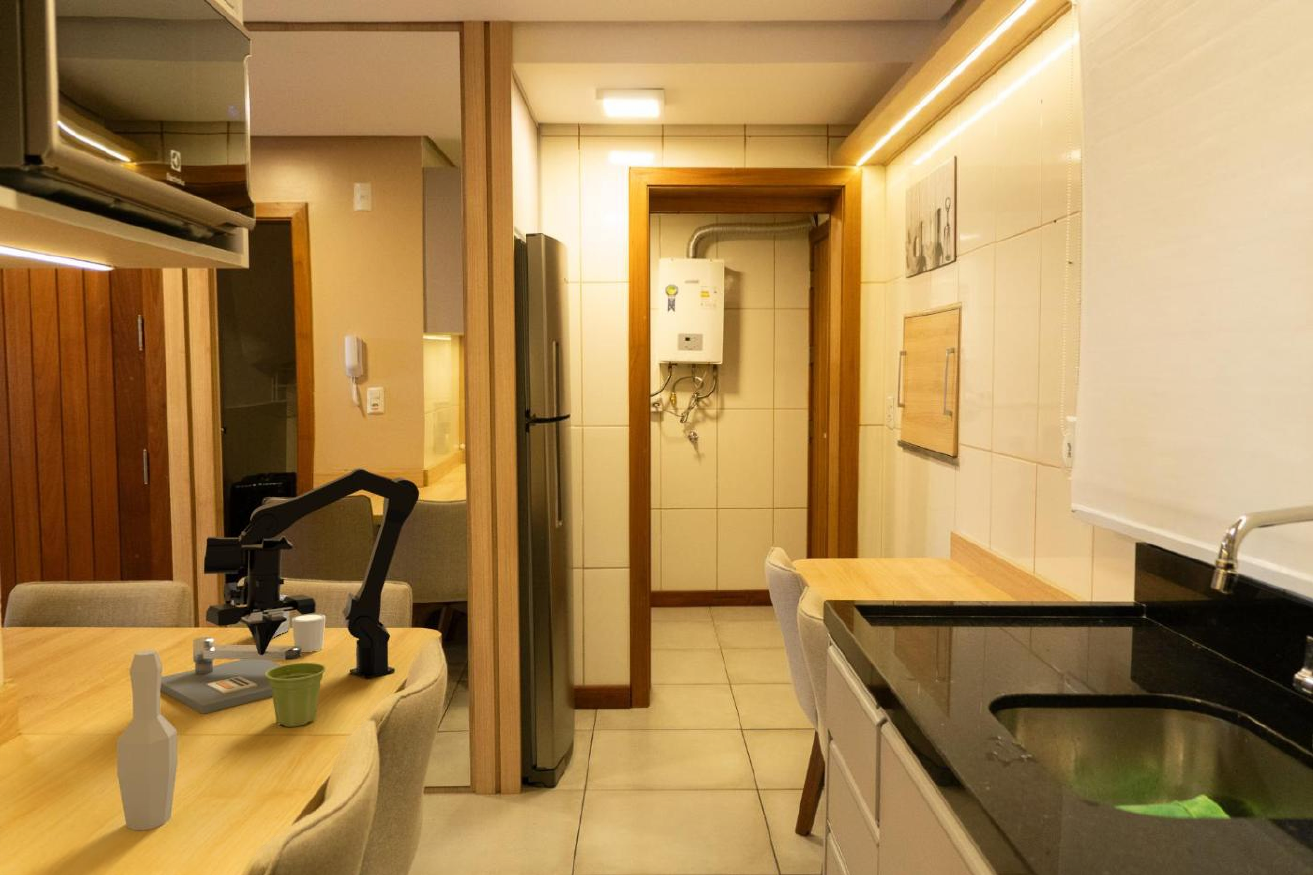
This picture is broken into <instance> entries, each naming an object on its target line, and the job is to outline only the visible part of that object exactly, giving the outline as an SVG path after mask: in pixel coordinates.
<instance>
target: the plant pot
mask: <svg viewBox="0 0 1313 875" xmlns="http://www.w3.org/2000/svg"><path fill="white" fill-rule="evenodd" d="M326 669H327V668H326V666H325V665H323V664H321V663H316V662H297V663H296V662H295V663H288V664H283V665H282V666H278V667H275V668H272V669H270V670H268V671H267V672H266V673H265V676H266V678H268V682H269V685H270V686H271V691H272V703H273V709H274V714H275V719H276V721H275V722H276V724H277V725H278V726H281V725H283V726H284V727H287V728H292V727H302V726H304V725H306V724H308V723H309V722H314V721H315V720H316V717H317V712H318V711H317V709H318V700H319V694H320V686H321V681H322V679H323V676H324V673H325V672H326Z"/></svg>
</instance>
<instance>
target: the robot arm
mask: <svg viewBox="0 0 1313 875" xmlns="http://www.w3.org/2000/svg"><path fill="white" fill-rule="evenodd" d="M359 491H364V492H368V493H371V494H373V495H376V496H379V497H382V498H383V504H382V518H381V519H382V520H381V524H380V525H379V526H380V527H379V530H378V533H377V536H376V539H375V542H374V546H373V548H372V552H371V554H370V558H369V561H368V564H367V568H366V571H365V573H364V577H363V581H362V582H361V583H362V584H361V586H360V587H359V590H357V593H356V594H352V593H348V596H347V602H346V606H345V608H344V609H343V611H342V614H343V617H344V622H345V626H346V628H347V630H348V633H349V634H350V635H351V636H352V637H353V638H356V639H357V640H356V647H355V650H356V651H355V653H356V654H355V658H356V659H355V660H356V667H355V668H352V669H349V673H350V674H353V675H356V676H358V677H361V678H364V679H370V678H371V679H372V678H374V677H375V678H376V677H378V676H382V675H386V674H389V673H394V672H395V670H396V668H394V667H392V666H389V641H390V638H391V635H390V633H389V631H388V630H387V627H386V626H385V625H384V623H383V622H381V621H380V616H381V615H380V614H381V602H382V601H381V600H382V592H383V588H384V585H385V582H386V581H387V580H386V579H387V576H388V573H389V570H390V566H391V564H392V560H393V557H394V554H395V550H396V547H397V545H398V541H399V538H400V535H401V531H402V528H403V526H404V524H405V523H406V522H407V520H408V518H409V517H410V515H411V514H412V513H413V510H414V508H415V507H416V505H417V502H418V501H419V496H420V491H419V488H418V486H417V485H416V483H415V482H413V481H411V480H409V479H408V478H405V477H400V476H399V477H395V478H389V477H386V476H383V475H379V474H376V473H374V472H371V471H368V470H366V469H364V468H361V467H359V468H353V470H351V471H350V472H349V473H347V474H344V475H342V476H340V477H337V478H336V479H333V480H331V481H329V482H327V483H325V484H322V485H320V486H318V487H316V488H313V489H311V490H308V491H306V492H304V493H302V494H300V495H298V496H296V497H293V498H288V499H283V500H278V501H275V502H271V503H267V504H264V505H260V506H258V507H257V508H255V509H254V510H253V512H252V513H251V515H250V522H249V525H247V527H245V529H244V530H243V531H241V534H240V535H239V536H238V537H218V536H208V537H207V538H206V548H205V554H204V559H203V574H204V575H217V574H218V575H219V574H220V575H221V574H222V575H223V574H225V575H227V574H238V573H239V572H238V571H239V570H241V569H243V568H245V560H246V559H245V557H246V551H248V565H247V566H248V568H247V576H244V579H243V584H242V585H238V583H237V582H228V583H225V584H223V593H222V595H223V601H225V602H228V601H229V602H230V601H233V604H231V603H222V604H214V605H213V604H212V605H209V607H208V608H207V610H206V611H205V613H206V614H205V621H206V622H208V623H210V624H213V625H216V626H219V627H223V626H232V625H237V624H238V623H243V624H245V625H246V626H247V628H248V629H249V631H250V634H251V636H252V639H253V642H254V645H256V648H257V651H258V654H259V655H264V653H265V651H266V649H267V647H268V645H270V643H271V641H272V640H273V639H274V638H273V636H274V634H275V633H276V631H277V629H278V628H279V626H280V625H281V623H282V622H285V621H287V618H285V617H283V613H284V611H290V612H291V611H297V612H298V613H299V614H300V615H307V614H316V613H317V602H316V600H315V599H314V598H313V597H310V596H307V595H305V594H296V595H295V594H294V595H287V596H286V597H285V598H284V600H280V595H281V585H284V584H285V579H284V578H282V556H283V550H285V551H286V550H292V549H293V548H294V546H293V543H292V542H290V541H289V539H287V538H286V536H285V535H282V536H281V537H280V538H279V539H273V538H276V537H277V536H278V535H280V534H282V533H283V532H285V531H286V530H287V529H289V528H290V527H292V526H294V524H295V523H297V522H299V520H301V519H302V518H304V517H305V516H307V515H309V514H311V513H313V512H316V511H319V510H320V509H323V508H325V507H327V506H329V505H331V504H333V503H336V502H337V501H340V500H342V499H344V498H346V497H348V496H351V495H353V494H355V493H356V492H357V493H358V492H359ZM262 539H263V540H262ZM260 540H262V543H261V544H255V543H257V542H259V541H260ZM241 605H242V606H241ZM253 610H258V611H253ZM272 638H273V639H272Z"/></svg>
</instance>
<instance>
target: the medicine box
mask: <svg viewBox="0 0 1313 875" xmlns="http://www.w3.org/2000/svg"><path fill="white" fill-rule="evenodd" d="M286 596H288V595H286V594H280V600H284V598H285V597H286ZM253 611H258V610H253ZM290 612H291V611H284V613H283V617H285V618H287V621H285V622H282V623H281V625H280V626H279V628H278V629H277V631H276V633H275V634H274V636H273V639H275V638H276V637H275V636H277V635H279V634H281V635H283V634H282V633H284V634H285V632H286V633H288V632H289V631H290V629H291V628H290V627H291V626H290V622H291V621H290V618H291V617H290ZM288 630H289V631H288ZM287 631H288V632H287ZM279 636H280V635H279ZM274 637H275V638H274ZM277 637H278V636H277Z"/></svg>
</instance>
